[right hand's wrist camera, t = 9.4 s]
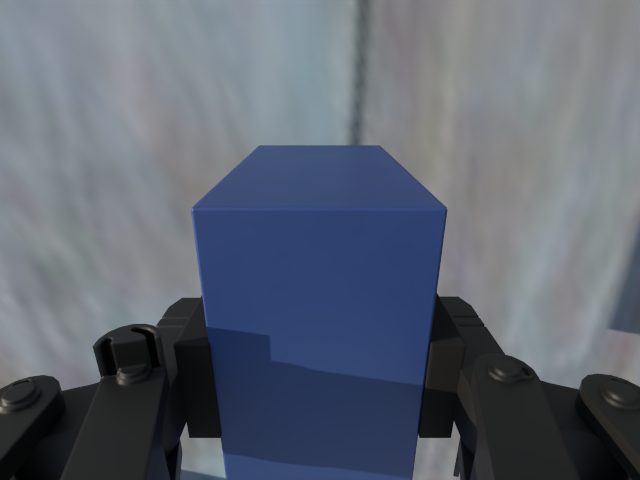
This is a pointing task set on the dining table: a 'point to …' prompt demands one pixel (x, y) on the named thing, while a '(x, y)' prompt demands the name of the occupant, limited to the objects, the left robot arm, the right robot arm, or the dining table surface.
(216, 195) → the block
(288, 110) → the dining table surface
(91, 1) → the dining table surface
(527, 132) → the dining table surface
